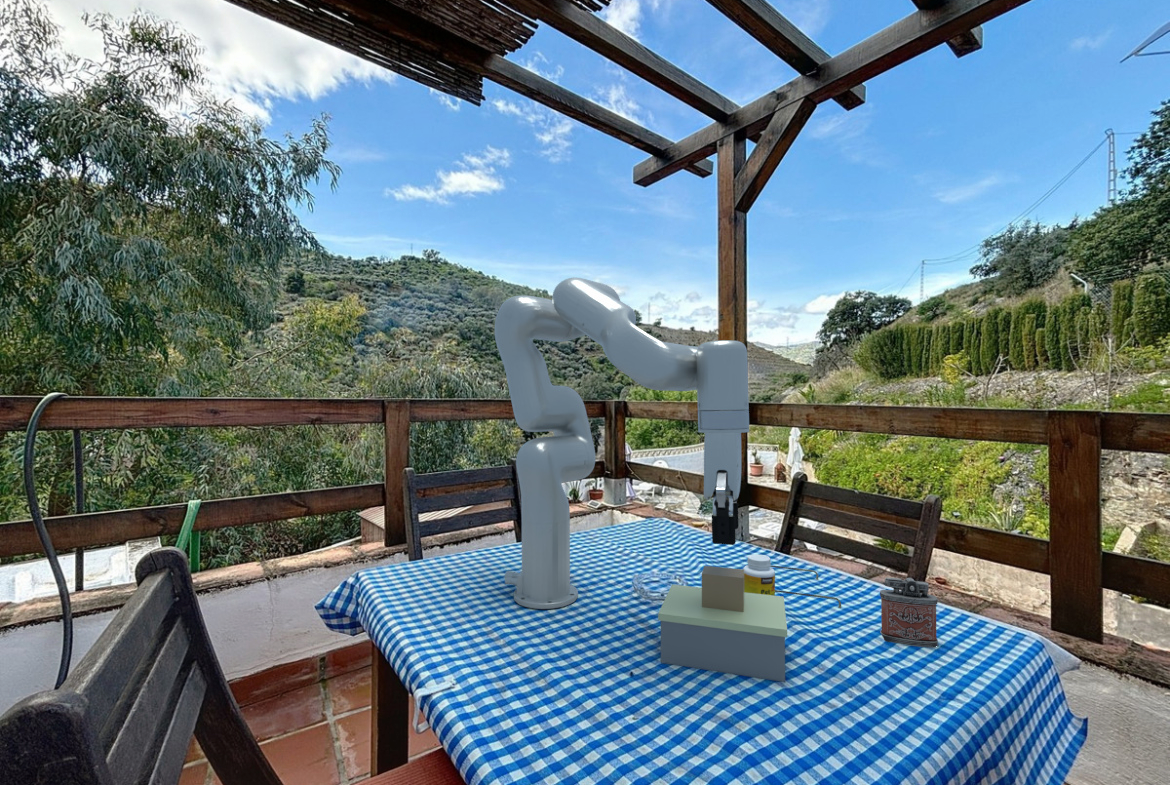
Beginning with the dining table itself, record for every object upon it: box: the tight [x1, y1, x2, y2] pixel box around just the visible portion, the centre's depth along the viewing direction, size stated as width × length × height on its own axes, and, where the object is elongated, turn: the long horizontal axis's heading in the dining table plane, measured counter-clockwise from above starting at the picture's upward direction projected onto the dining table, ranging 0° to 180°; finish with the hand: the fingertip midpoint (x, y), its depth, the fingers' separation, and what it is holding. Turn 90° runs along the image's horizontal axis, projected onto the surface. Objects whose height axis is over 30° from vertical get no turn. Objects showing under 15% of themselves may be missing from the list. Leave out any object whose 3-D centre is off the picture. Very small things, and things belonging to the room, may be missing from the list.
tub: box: [660, 621, 786, 683], centre depth 80 cm, size 17×12×7 cm
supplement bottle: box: [743, 554, 776, 596], centre depth 97 cm, size 6×6×10 cm
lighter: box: [879, 576, 939, 648], centre depth 86 cm, size 8×3×10 cm, turn 71°
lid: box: [657, 565, 788, 638], centre depth 80 cm, size 18×13×8 cm
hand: (726, 535), depth 80 cm, fingers open, 9 cm apart
